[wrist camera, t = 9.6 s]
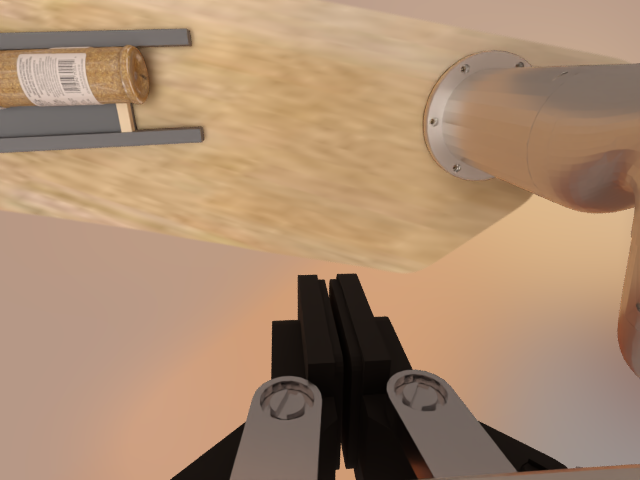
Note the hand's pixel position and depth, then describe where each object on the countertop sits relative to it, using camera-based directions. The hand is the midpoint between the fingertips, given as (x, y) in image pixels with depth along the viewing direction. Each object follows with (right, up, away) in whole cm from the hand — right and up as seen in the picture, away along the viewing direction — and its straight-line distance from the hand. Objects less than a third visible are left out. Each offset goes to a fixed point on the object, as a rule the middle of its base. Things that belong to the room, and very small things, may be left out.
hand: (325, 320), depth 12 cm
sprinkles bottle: (-15, +16, +22) cm, 31 cm away
